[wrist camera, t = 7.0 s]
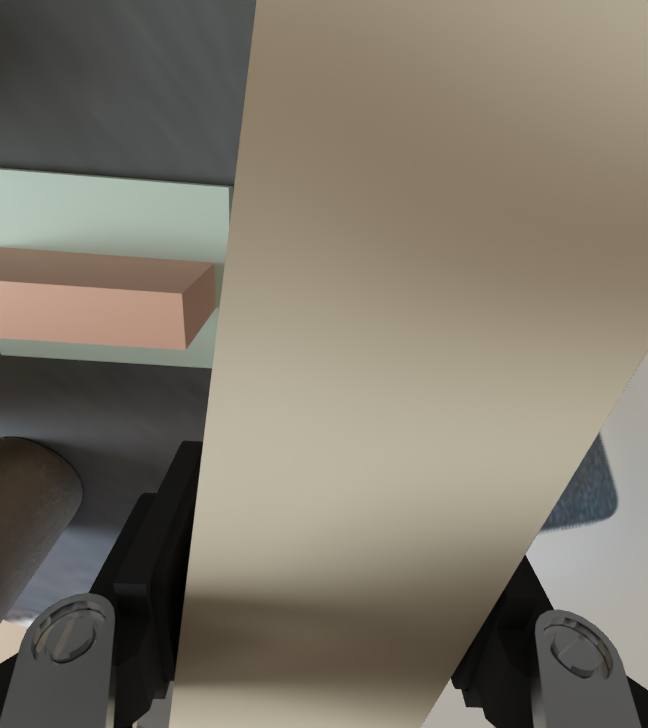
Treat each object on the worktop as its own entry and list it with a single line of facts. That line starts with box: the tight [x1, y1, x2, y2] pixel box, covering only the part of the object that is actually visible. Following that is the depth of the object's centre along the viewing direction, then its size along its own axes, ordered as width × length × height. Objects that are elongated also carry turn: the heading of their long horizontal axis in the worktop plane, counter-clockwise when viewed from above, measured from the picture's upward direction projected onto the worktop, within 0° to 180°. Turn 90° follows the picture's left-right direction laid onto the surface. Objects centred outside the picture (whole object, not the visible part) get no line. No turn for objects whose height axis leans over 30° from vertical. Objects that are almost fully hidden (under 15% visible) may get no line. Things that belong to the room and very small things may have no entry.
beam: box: [169, 0, 648, 728], centre depth 10 cm, size 20×5×6 cm, turn 167°
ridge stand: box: [0, 168, 233, 368], centre depth 25 cm, size 12×16×8 cm
